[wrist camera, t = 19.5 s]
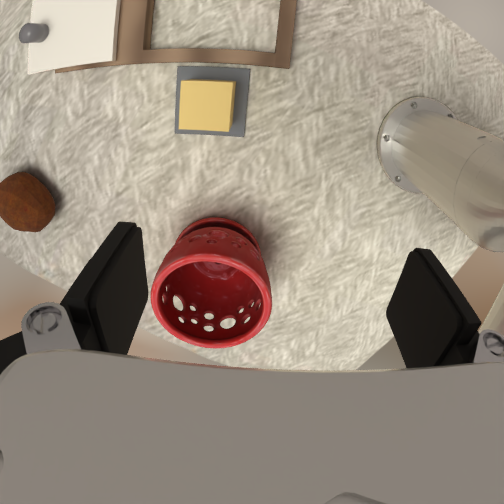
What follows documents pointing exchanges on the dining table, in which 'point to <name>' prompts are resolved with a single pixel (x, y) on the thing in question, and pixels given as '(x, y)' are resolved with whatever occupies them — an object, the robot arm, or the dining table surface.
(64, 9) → the lid
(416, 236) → the dining table surface
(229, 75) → the mat
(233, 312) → the plant pot
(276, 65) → the brown box
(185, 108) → the block
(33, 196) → the potato
